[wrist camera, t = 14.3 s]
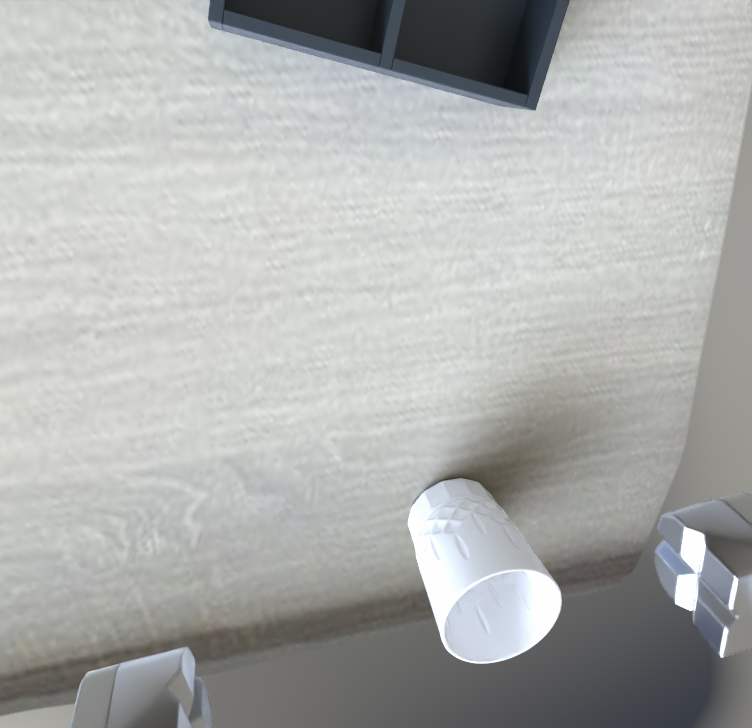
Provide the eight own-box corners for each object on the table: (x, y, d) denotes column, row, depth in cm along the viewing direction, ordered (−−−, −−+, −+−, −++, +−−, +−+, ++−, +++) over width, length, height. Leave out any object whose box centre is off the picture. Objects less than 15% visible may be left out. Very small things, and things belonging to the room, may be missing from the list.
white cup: (475, 452, 44) (536, 547, 35) (513, 520, 48) (578, 622, 39) (381, 506, 44) (419, 614, 35) (427, 570, 48) (471, 682, 39)
